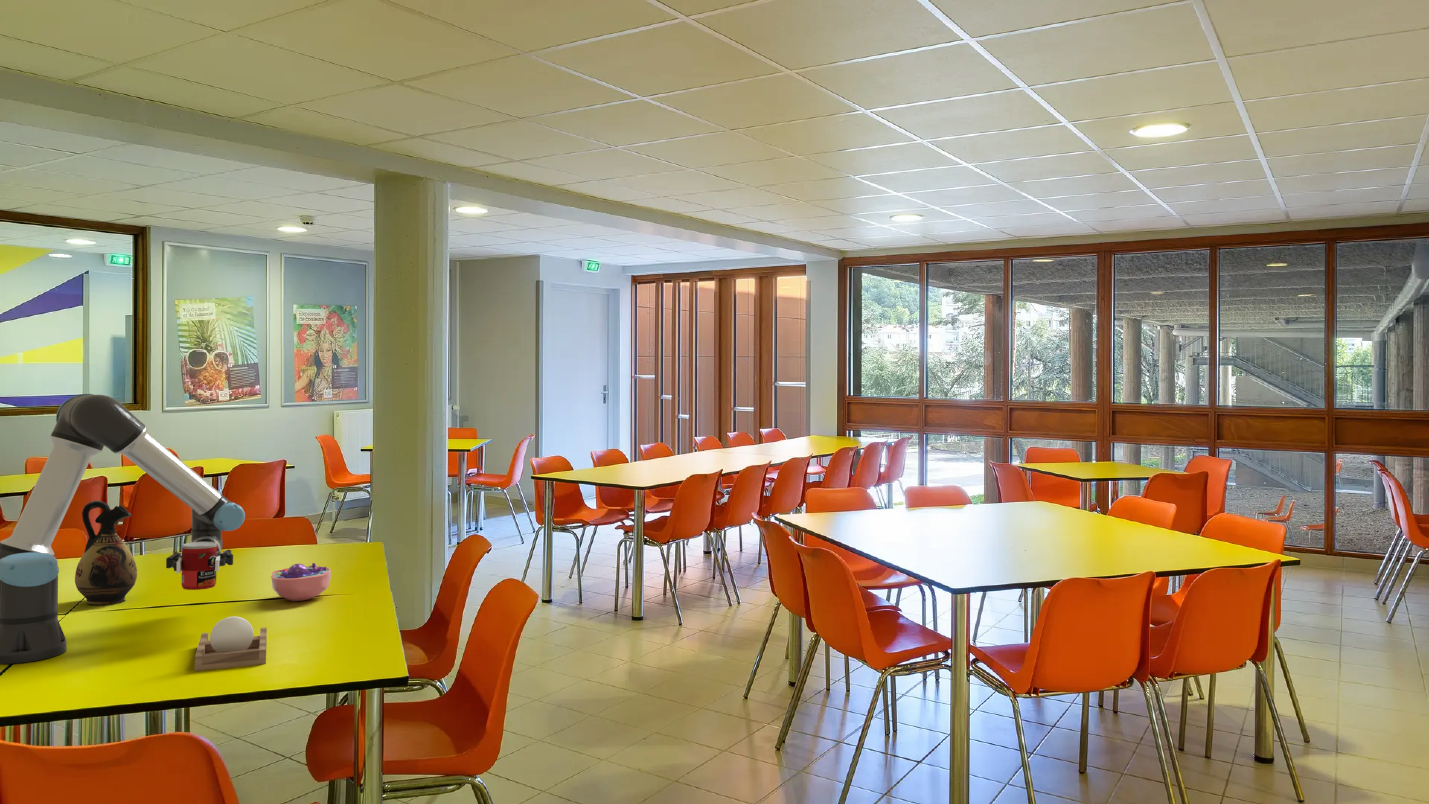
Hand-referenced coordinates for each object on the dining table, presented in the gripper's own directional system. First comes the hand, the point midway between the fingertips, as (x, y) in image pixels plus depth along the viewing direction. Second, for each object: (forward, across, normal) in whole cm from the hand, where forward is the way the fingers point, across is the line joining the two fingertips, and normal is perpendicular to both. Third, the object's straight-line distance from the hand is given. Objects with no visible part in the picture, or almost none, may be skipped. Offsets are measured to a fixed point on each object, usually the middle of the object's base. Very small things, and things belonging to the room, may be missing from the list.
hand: (197, 566), depth 230 cm
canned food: (-5, 0, -6) cm, 8 cm away
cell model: (-42, -25, -19) cm, 53 cm away
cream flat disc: (+20, -9, -18) cm, 28 cm away
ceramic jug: (-60, +28, -19) cm, 69 cm away
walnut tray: (+15, -9, -19) cm, 26 cm away
